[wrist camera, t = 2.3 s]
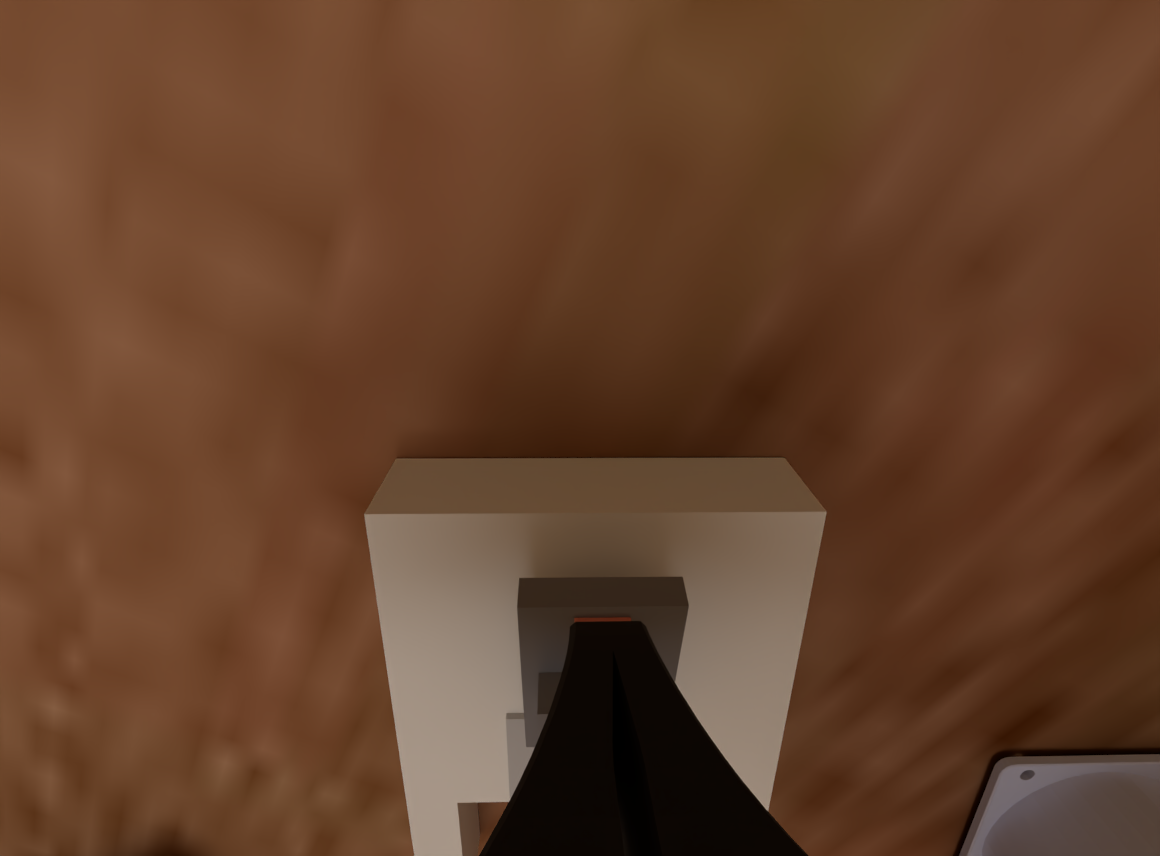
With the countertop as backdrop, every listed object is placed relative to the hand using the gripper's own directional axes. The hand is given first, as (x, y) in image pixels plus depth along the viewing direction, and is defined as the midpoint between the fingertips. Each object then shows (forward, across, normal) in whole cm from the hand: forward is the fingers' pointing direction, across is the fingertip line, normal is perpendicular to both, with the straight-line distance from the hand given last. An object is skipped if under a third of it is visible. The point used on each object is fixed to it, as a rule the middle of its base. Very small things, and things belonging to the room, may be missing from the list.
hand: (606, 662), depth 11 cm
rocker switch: (+3, 0, +2) cm, 4 cm away
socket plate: (+7, 0, +7) cm, 10 cm away
